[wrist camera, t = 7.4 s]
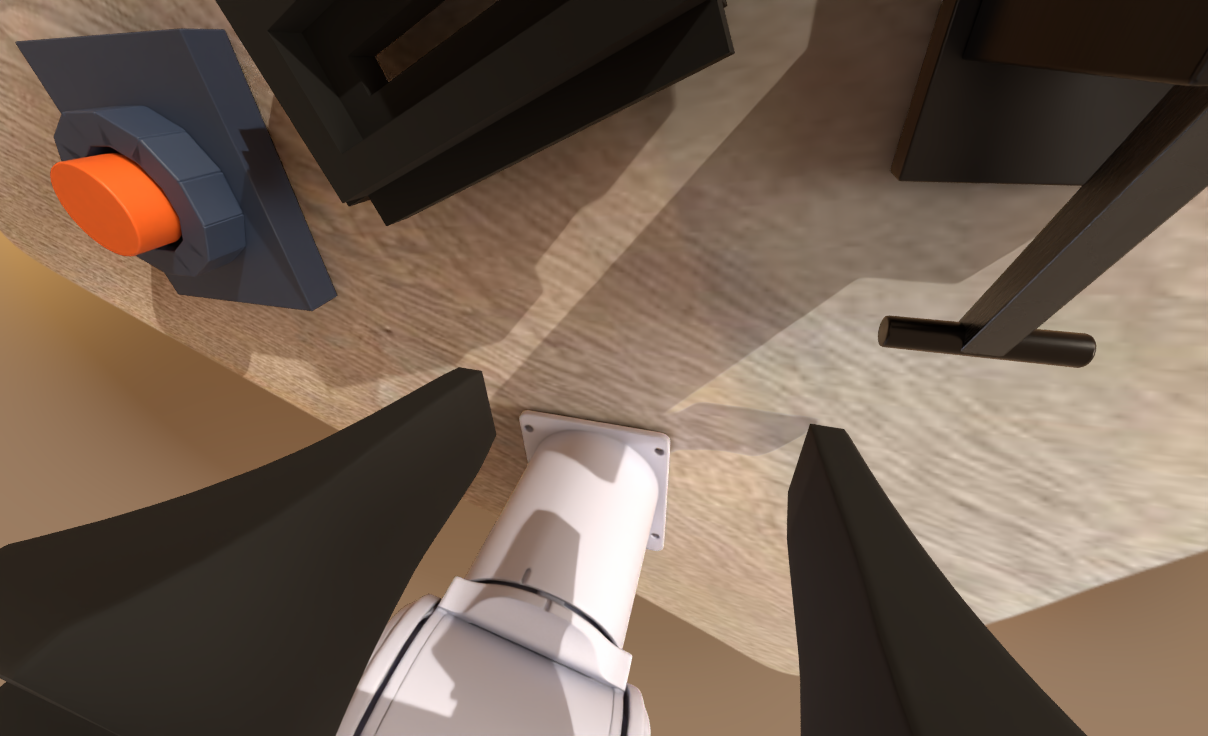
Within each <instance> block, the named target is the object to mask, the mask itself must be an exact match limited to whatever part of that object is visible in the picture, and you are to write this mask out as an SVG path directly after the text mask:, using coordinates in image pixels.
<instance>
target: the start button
mask: <svg viewBox="0 0 1208 736" xmlns="http://www.w3.org/2000/svg"><path fill="white" fill-rule="evenodd" d="M50 178H51V183H52V186H53V189H54V191H55V193H56V195H57V197H58V199H59V201H60V202H61V204H62V205H63V207H64V208H65V210H66V211H67V212H68V214H69V215H70V216H71V218H72V219H73V220H74V221H75V222H76V223H77V224H78V225H79V227H80V228H81V229H82V230H83V231H84V232H86V233H87V234H88V235H89V236H90V237H91V238H92V239H94V240H95V241H96V242H98V243H99V244H100V245H102V246H103V247H105V248H106V249H108V250H110V251H112V252H114V253H116V254H119V255H123V256H135V255H138V254H141V253H144V252H147V251H150V250H153V249H156V248H159V247H161V246H164V245H167V244H170V243H173V242H176V241H177V240H179V239H180V237H181V236H182V232H181V226H180V220H179V216H178V215H177V213H176V211H175V210H174V208H173V206H172V204H171V203H170V201H169V199H168V198H167V196H166V194H165V192H164V191H163V189H162V188H161V187H160V186H159V185H158V184H157V183H156V182H155V181H154V180H153V179H152V178H151V177H150V176H149V175H148V174H147V173H146V171H145V170H144V169H143V168H142V167H141V166H140V165H139V164H138V163H136V162H135V161H133V160H131V159H130V158H128V157H126V156H125V155H122V154H118V153H107V154H101V155H96V156H90V157H84V158H79V159H73V160H67V161H61V162H58V163H56V164H55V165H54V166H53V167H52V168H51V172H50Z"/></svg>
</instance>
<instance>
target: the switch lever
mask: <svg viewBox="0 0 1208 736" xmlns="http://www.w3.org/2000/svg"><path fill="white" fill-rule="evenodd" d="M1207 186H1208V86H1194V87H1192V86H1183V85H1174V86H1173V87H1172V88H1171V89H1170V90H1169V92H1168V93H1167V94H1166V95H1165V96H1164V97H1163V98H1162V99H1161V100H1160V101H1159V103H1158V104H1157V105H1156V106H1155V107H1154V108H1153V109H1152V110H1151V111H1150V112H1149V114H1148V115H1147V116H1146V117H1145V118H1144V119H1143V120H1142V121H1141V122H1140V123H1139V124H1138V126H1137V127H1136V128H1135V129H1134V130H1133V131H1132V132H1131V133H1130V134H1129V135H1128V137H1127V138H1126V139H1125V140H1124V141H1123V142H1122V143H1121V144H1120V145H1119V146H1118V148H1117V149H1116V150H1115V151H1114V152H1113V153H1112V154H1111V155H1110V156H1109V157H1108V158H1107V160H1106V161H1105V162H1104V163H1103V164H1102V165H1101V166H1100V167H1099V168H1098V169H1097V171H1096V172H1095V173H1094V174H1093V175H1092V176H1091V177H1090V178H1089V179H1088V180H1087V181H1086V183H1085V184H1084V185H1083V186H1082V187H1081V188H1080V189H1079V190H1078V191H1077V192H1076V194H1075V195H1074V196H1073V197H1072V198H1071V199H1070V200H1069V201H1068V202H1067V203H1066V205H1065V206H1064V207H1063V208H1062V209H1061V210H1060V211H1059V212H1058V213H1057V214H1056V215H1055V217H1054V218H1053V219H1052V220H1051V221H1050V222H1049V223H1048V224H1047V225H1046V226H1045V228H1044V229H1043V230H1042V231H1041V232H1040V233H1039V234H1038V235H1037V236H1036V237H1035V239H1034V240H1033V241H1032V242H1031V243H1030V244H1029V245H1028V246H1027V247H1026V248H1025V249H1024V251H1023V252H1022V253H1021V254H1020V255H1019V256H1018V257H1017V258H1016V259H1015V260H1014V262H1013V263H1012V264H1011V265H1010V266H1009V267H1008V268H1007V269H1006V270H1005V271H1004V273H1003V274H1002V275H1001V276H1000V277H999V278H998V279H997V280H996V281H995V282H994V283H993V285H992V286H991V287H990V288H989V289H988V290H987V291H986V292H985V293H984V294H983V296H982V297H981V298H980V299H979V300H978V301H977V302H976V303H975V304H974V305H973V307H972V308H971V309H970V310H969V311H968V312H967V313H966V314H965V315H964V316H963V317H962V319H961V320H960V321H959V322H954V321H943V320H932V319H921V318H910V317H899V316H885V317H884V318H883V320H882V322H881V324H880V327H879V331H878V342H879V345H880V346H882V347H888V348H897V349H906V350H916V351H925V352H934V353H944V354H953V355H962V356H972V357H981V358H990V359H1000V360H1009V361H1018V362H1028V363H1037V364H1046V365H1056V366H1065V367H1074V368H1080V367H1084V366H1086V365H1087V364H1089V363H1090V362H1091V360H1092V359H1093V357H1094V355H1095V352H1096V342H1095V340H1094V338H1093V337H1092V336H1090V335H1088V334H1085V333H1074V332H1063V331H1052V330H1041V329H1037V328H1038V327H1039V326H1040V325H1041V324H1043V323H1044V322H1045V321H1046V320H1047V319H1049V318H1050V317H1051V316H1052V315H1053V314H1055V313H1056V312H1057V311H1058V310H1059V309H1061V308H1062V307H1063V306H1064V305H1065V304H1067V303H1068V302H1069V301H1070V300H1072V299H1073V298H1074V297H1075V296H1076V295H1078V294H1079V293H1080V292H1081V291H1082V290H1084V289H1085V288H1086V287H1087V286H1088V285H1090V284H1091V283H1092V282H1093V281H1094V280H1096V279H1097V278H1098V277H1099V276H1100V275H1102V274H1103V273H1104V272H1105V271H1106V270H1108V269H1109V268H1110V267H1111V266H1112V265H1114V264H1115V263H1116V262H1117V261H1118V260H1120V259H1121V258H1122V257H1123V256H1124V255H1126V254H1127V253H1128V252H1129V251H1130V250H1132V249H1133V248H1134V247H1135V246H1136V245H1138V244H1139V243H1140V242H1141V241H1142V240H1144V239H1145V238H1146V237H1147V236H1148V235H1150V234H1151V233H1152V232H1153V231H1154V230H1156V229H1157V228H1158V227H1159V226H1160V225H1162V224H1163V223H1164V222H1165V221H1166V220H1168V219H1169V218H1170V217H1171V216H1172V215H1174V214H1175V213H1176V212H1177V211H1178V210H1180V209H1181V208H1182V207H1183V206H1184V205H1186V204H1187V203H1188V202H1189V201H1190V200H1192V199H1193V198H1194V197H1195V196H1196V195H1198V194H1199V193H1200V192H1201V191H1202V190H1204V189H1205V188H1206V187H1207Z"/></svg>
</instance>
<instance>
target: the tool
mask: <svg viewBox="0 0 1208 736" xmlns="http://www.w3.org/2000/svg"><path fill="white" fill-rule="evenodd" d="M443 1H445V0H216V2H217V4H218V5H219V7H220V8H221V10H222V12H223V13H224V15H225V16H226V18H227V20H228V21H229V23H230V24H231V26H232V28H233V29H234V31H235V32H236V34H237V35H238V37H239V39H240V40H241V42H242V43H243V45H244V47H245V48H246V50H247V51H248V53H249V55H250V56H251V58H252V59H253V61H254V63H255V64H256V66H257V67H258V69H259V71H260V72H261V74H262V75H263V77H264V79H265V80H266V82H267V83H268V85H269V86H270V88H271V90H272V91H273V93H274V94H275V96H276V98H277V99H278V101H279V102H280V104H281V106H282V107H283V109H284V110H285V112H286V114H287V115H288V117H289V118H290V120H291V122H292V123H293V125H294V126H295V128H296V130H297V131H298V133H299V134H300V136H301V137H302V139H303V141H304V142H305V144H306V145H307V147H308V149H309V150H310V152H311V153H312V155H313V157H314V158H315V160H316V161H317V163H318V165H319V166H320V168H321V169H322V171H323V173H324V174H325V176H326V177H327V179H328V181H329V182H330V184H331V185H332V187H333V188H334V190H335V192H336V193H337V195H338V196H339V198H340V200H341V201H342V203H345V202H346V203H347V204H348V206H352V205H355V204H358V203H361V202H365V201H368V200H371V201H372V203H373V205H374V206H375V208H376V210H377V211H378V213H379V215H380V216H381V218H382V220H383V221H384V223H385V225H386V226H389V225H391V224H394V223H396V222H399V221H401V220H404V219H406V218H409V217H411V216H413V215H415V214H417V213H419V212H421V211H423V210H424V209H426V208H428V207H430V206H432V205H434V204H436V203H438V202H440V201H442V200H444V199H446V198H448V197H450V196H452V195H454V194H456V193H458V192H460V191H462V190H464V189H466V188H468V187H470V186H472V185H474V184H476V183H478V182H480V181H482V180H484V179H486V178H488V177H490V176H492V175H494V174H496V173H498V172H500V171H502V170H504V169H506V168H508V167H510V166H512V165H514V164H516V163H518V162H520V161H522V160H524V159H526V158H528V157H530V156H532V155H534V154H536V153H538V152H540V151H542V150H544V149H546V148H548V147H550V146H552V145H554V144H556V143H558V142H560V141H562V140H564V139H566V138H567V137H569V136H571V135H573V134H575V133H577V132H579V131H581V130H583V129H585V128H587V127H589V126H591V125H593V124H595V123H597V122H599V121H601V120H603V119H605V118H607V117H609V116H611V115H613V114H615V113H617V112H619V111H621V110H623V109H625V108H627V107H629V106H631V105H633V104H635V103H637V102H639V101H641V100H643V99H645V98H647V97H649V96H651V95H653V94H655V93H657V92H659V91H661V90H663V89H665V88H667V87H669V86H671V85H673V84H675V83H677V82H679V81H681V80H683V79H685V78H687V77H689V76H691V75H693V74H695V73H697V72H699V71H701V70H703V69H705V68H707V67H709V66H710V65H712V64H714V63H716V62H718V61H720V60H722V59H724V58H726V57H728V56H730V55H732V54H734V53H735V52H734V48H733V44H732V40H731V36H730V32H729V28H728V23H727V19H726V15H725V11H724V7H726V6H727V2H726V0H499V1H498V2H496V3H495V4H494V5H492V6H491V7H490V8H488V9H487V10H486V11H484V12H483V13H482V14H480V15H479V16H478V17H476V18H475V19H473V20H472V21H471V22H469V23H468V24H467V25H465V26H464V27H463V28H461V29H460V30H459V31H457V32H456V33H455V34H453V35H452V36H451V37H449V38H448V39H447V40H445V41H444V42H443V43H441V44H440V45H439V46H437V47H436V48H434V49H433V50H432V51H430V52H429V53H428V54H426V55H425V56H424V57H422V58H421V59H420V60H418V61H417V62H416V63H414V64H413V65H412V66H410V67H409V68H408V69H406V70H405V71H404V72H402V73H401V74H399V75H398V76H397V77H395V78H394V79H393V80H391V81H390V82H389V83H388V81H387V79H386V77H385V75H384V73H383V71H382V69H381V67H380V66H379V64H378V62H377V60H376V58H375V56H376V55H377V54H379V53H380V52H381V51H382V50H384V49H385V48H386V47H387V46H389V45H390V44H391V43H392V42H394V41H395V40H396V39H397V38H399V37H400V36H401V35H402V34H404V33H405V32H406V31H407V30H408V29H410V28H411V27H412V26H413V25H415V24H416V23H417V22H418V21H420V20H421V19H422V18H423V17H425V16H426V15H427V14H428V13H430V12H431V11H432V10H433V9H435V8H436V7H437V6H438V5H440V4H441V3H442V2H443Z"/></svg>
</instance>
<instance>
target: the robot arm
mask: <svg viewBox="0 0 1208 736" xmlns="http://www.w3.org/2000/svg"><path fill="white" fill-rule="evenodd" d="M519 421H520V426H521V431H522V436H523V441H524V446H525V451H526V456H527V461H528V465H527V467H526V469H525V471H524V472H523V474H522V476H521V478H520V479H519V481H518V483H517V485H516V487H515V488H514V490H513V492H512V494H511V496H510V497H509V499H508V501H507V503H506V505H505V506H504V508H503V510H502V512H501V513H500V515H499V517H498V519H497V521H496V523H495V524H494V526H493V528H492V530H491V531H490V533H489V535H488V537H487V539H486V540H485V542H484V544H483V546H482V547H481V549H480V551H479V553H478V555H477V557H476V558H475V560H474V562H473V564H472V565H471V567H470V569H469V571H468V573H467V574H466V576H465V578H464V579H463V578H461V577H458V576H456V577H454V579H453V581H452V582H451V584H450V586H449V587H448V589H447V591H446V592H445V594H444V596H443V598H442V599H441V598H439V597H437V596H434V595H432V594H427V595H424V596H422V597H421V598H420V599H418V600H416V601H414V602H412V603H410V604H407V605H406V606H404V607H403V608H402V609H400V610H399V611H398V612H397V613H396V614H395V615H394V616H393V617H392V619H391V620H390V621H389V619H390V617H391V614H392V613H393V611H394V609H395V607H396V605H397V603H398V601H399V599H400V597H401V595H402V594H403V592H404V590H405V588H406V586H407V584H408V582H409V580H410V579H411V576H412V575H413V573H414V571H415V569H416V568H417V566H418V564H419V563H420V561H421V559H422V558H423V556H424V554H425V553H426V551H427V550H428V548H429V546H430V545H431V544H432V542H433V541H434V539H435V538H436V536H437V534H438V533H439V532H440V530H441V528H442V527H443V525H444V524H445V522H446V521H447V519H448V518H449V516H450V515H451V513H452V512H453V510H454V509H455V507H456V506H457V504H458V502H459V501H460V500H461V498H462V497H463V495H464V494H465V492H466V491H467V489H468V488H469V486H470V484H471V483H472V481H473V480H474V478H475V477H476V475H477V473H478V472H479V470H480V468H481V466H482V464H483V462H484V460H485V458H486V456H487V454H488V452H489V450H490V447H491V445H492V443H493V441H494V439H495V437H496V431H495V426H494V422H493V417H492V413H491V409H490V404H489V400H488V396H487V391H486V387H485V382H484V378H483V374H482V371H479V370H473V369H466V368H460V367H459V368H457V369H455V370H452V371H450V372H448V373H446V374H444V375H442V376H441V377H439V378H437V379H435V380H433V381H431V382H429V383H428V384H426V385H424V386H422V387H420V388H419V389H417V390H415V391H413V392H411V393H410V394H408V395H406V396H404V397H403V398H401V399H399V400H397V401H395V402H393V403H392V404H390V405H388V406H386V407H384V408H383V409H381V410H379V411H377V412H375V413H374V414H372V415H370V416H368V417H366V418H364V419H362V420H360V421H358V422H356V423H354V424H352V425H350V426H348V427H346V428H344V429H342V430H340V431H339V432H337V433H335V434H333V435H331V436H329V437H327V438H325V439H323V440H321V441H319V442H317V443H314V444H312V445H310V446H308V447H306V448H304V449H301V450H299V451H297V452H295V453H293V454H290V455H288V456H285V457H283V458H281V459H278V460H276V461H274V462H272V463H269V464H267V465H264V466H262V467H259V468H257V469H255V470H252V471H249V472H246V473H244V474H241V475H238V476H236V477H233V478H230V479H227V480H225V481H222V482H219V483H217V484H214V485H212V486H209V487H206V488H203V489H201V490H198V491H195V492H192V493H189V494H186V495H183V496H180V497H177V498H174V499H171V500H168V501H165V502H162V503H158V504H155V505H152V506H149V507H145V508H142V509H139V510H135V511H132V512H129V513H126V514H122V515H119V516H115V517H112V518H108V519H105V520H101V521H98V522H94V523H90V524H86V525H83V526H78V527H75V528H71V529H67V530H63V531H59V532H55V533H52V534H48V535H44V536H40V537H36V538H32V539H29V540H24V541H20V542H16V543H12V544H8V545H6V546H4V547H2V548H0V678H1V679H3V680H5V681H7V682H6V683H4V684H3V685H2V686H1V687H0V736H651V731H650V722H649V717H648V714H647V712H646V709H645V706H644V701H643V697H642V694H641V692H640V690H639V689H638V688H637V687H635V686H633V685H631V684H629V683H627V679H628V674H629V670H630V664H631V660H632V655H631V654H630V653H628V652H626V651H624V650H622V648H623V643H624V639H625V635H626V631H627V627H628V623H629V618H630V614H631V610H632V606H633V601H634V597H635V593H636V589H637V584H638V580H639V576H640V572H641V567H642V563H643V559H644V555H645V551H646V549H649V550H654V551H660V550H662V549H663V546H664V536H665V520H666V504H667V489H668V473H669V457H670V438H669V437H668V436H667V435H666V434H664V433H661V432H655V431H650V430H644V429H638V428H632V427H626V426H620V425H614V424H608V423H602V422H596V421H590V420H584V419H578V418H572V417H566V416H560V415H554V414H549V413H543V412H537V411H531V410H525V411H523V412H522V414H521V415H520V417H519ZM529 425H530V426H531V427H530V426H529ZM657 448H660V449H662V450H659V449H657ZM787 544H788V555H789V565H790V576H791V586H792V595H793V605H794V615H795V624H796V634H797V644H798V654H799V669H800V694H801V695H800V700H801V701H800V702H801V736H1087V735H1086V734H1085V733H1084V732H1083V731H1082V730H1081V729H1080V728H1079V727H1078V726H1077V725H1076V724H1075V723H1074V722H1073V721H1072V720H1071V719H1070V718H1069V717H1068V716H1067V715H1066V714H1065V713H1064V711H1062V709H1061V708H1060V707H1058V705H1057V704H1056V703H1055V702H1054V701H1053V700H1052V699H1051V698H1050V697H1049V696H1048V695H1047V694H1046V693H1045V692H1044V691H1043V690H1042V689H1041V688H1040V687H1039V686H1038V684H1037V683H1036V682H1035V681H1034V680H1033V679H1032V678H1031V677H1030V676H1029V675H1028V674H1027V673H1026V672H1025V670H1024V669H1023V668H1022V667H1021V666H1020V665H1019V664H1018V663H1017V662H1016V661H1015V659H1014V658H1013V657H1012V656H1011V655H1010V654H1009V653H1008V652H1007V650H1006V649H1005V648H1004V647H1003V646H1002V645H1001V644H1000V642H999V641H998V640H997V639H996V638H995V637H994V635H993V634H992V633H991V632H990V631H989V630H988V629H987V627H986V626H985V625H984V624H983V623H982V622H981V620H980V619H979V618H978V617H977V616H976V614H975V613H974V612H973V611H972V610H971V608H970V607H969V606H968V605H967V604H966V602H965V601H964V600H963V599H962V597H961V596H960V595H959V594H958V592H957V591H956V590H955V589H954V587H953V586H952V585H951V584H950V582H949V581H948V580H947V578H946V577H945V576H944V574H943V573H942V572H941V571H940V569H939V568H938V567H937V565H936V564H935V563H934V561H933V560H932V559H931V558H930V556H929V555H928V554H927V552H926V551H925V550H924V548H923V547H922V545H921V544H920V543H919V541H918V540H917V539H916V537H915V536H914V534H913V533H912V532H911V530H910V529H909V527H908V526H907V524H906V523H905V522H904V520H903V519H902V517H901V516H900V514H899V513H898V511H897V510H896V509H895V507H894V506H893V504H892V503H891V501H890V500H889V498H888V497H887V495H886V494H885V492H884V491H883V489H882V488H881V486H880V485H879V483H878V482H877V480H876V478H875V477H874V475H873V474H872V472H871V471H870V469H869V467H868V466H867V464H866V463H865V461H864V459H863V458H862V456H861V455H860V453H859V451H858V450H857V448H856V446H855V445H854V443H853V441H852V440H851V438H850V437H849V435H848V434H847V432H846V431H845V430H844V429H840V428H834V427H827V426H821V425H815V424H810V426H809V429H808V432H807V435H806V438H805V441H804V444H803V447H802V451H801V454H800V457H799V460H798V463H797V466H796V469H795V472H794V475H793V478H792V481H791V484H790V487H789V491H788V510H787ZM388 621H389V622H388Z"/></svg>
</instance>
